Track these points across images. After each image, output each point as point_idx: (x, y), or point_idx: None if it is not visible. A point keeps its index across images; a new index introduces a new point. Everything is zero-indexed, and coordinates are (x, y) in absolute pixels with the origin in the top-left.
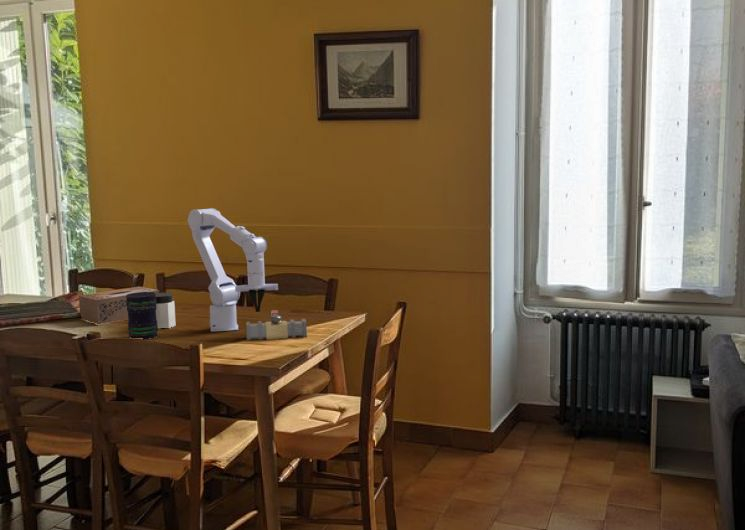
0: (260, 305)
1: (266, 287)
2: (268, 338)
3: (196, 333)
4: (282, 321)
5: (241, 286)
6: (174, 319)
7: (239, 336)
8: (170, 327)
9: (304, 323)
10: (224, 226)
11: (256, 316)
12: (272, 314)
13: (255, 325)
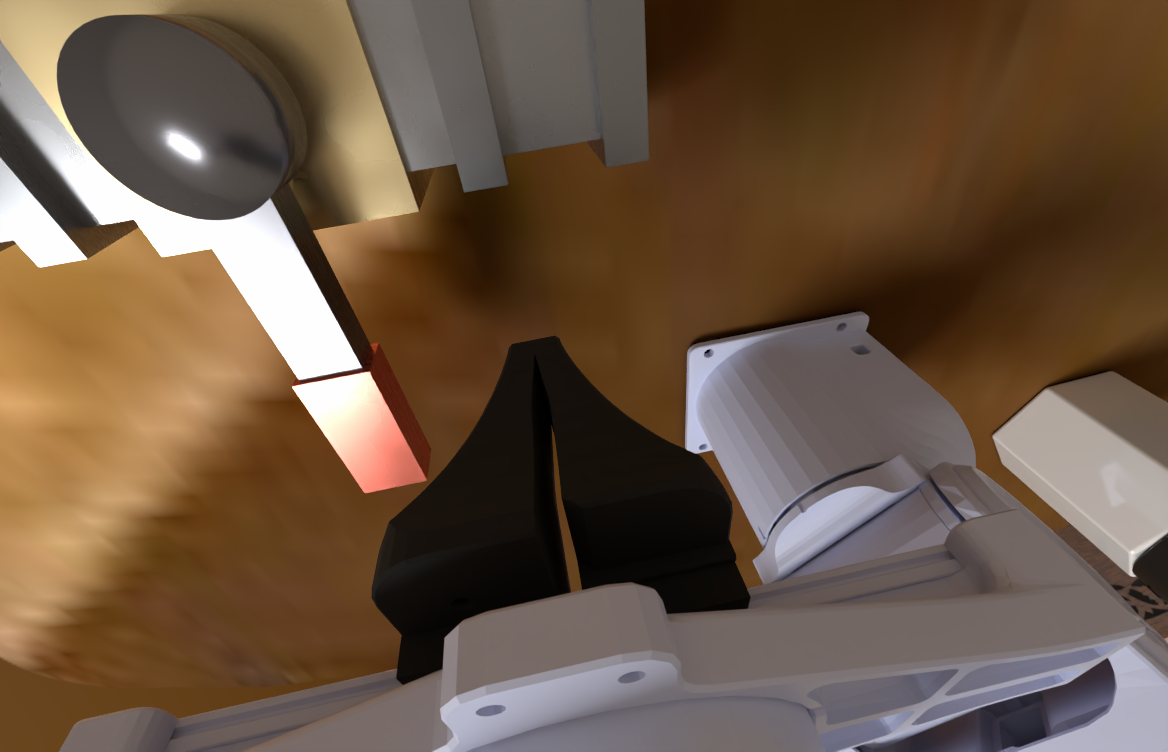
0: (495, 391)
1: (284, 742)
2: None
3: (957, 277)
4: None
5: (1006, 660)
6: (1030, 455)
7: (676, 152)
8: (1037, 399)
9: None
10: None
11: None
12: (366, 362)
13: (509, 3)
